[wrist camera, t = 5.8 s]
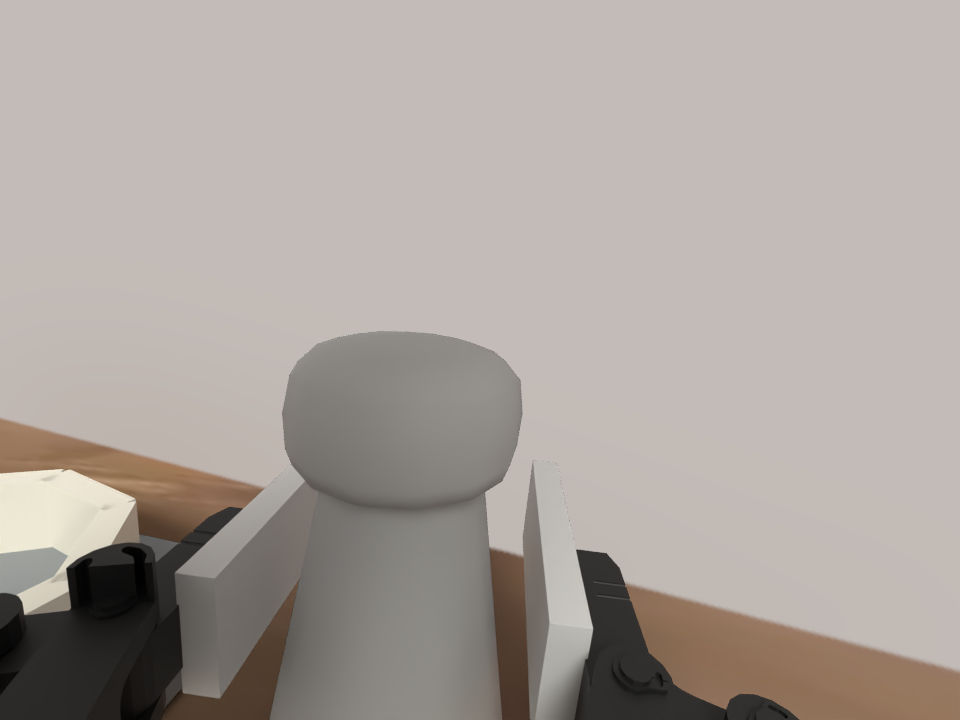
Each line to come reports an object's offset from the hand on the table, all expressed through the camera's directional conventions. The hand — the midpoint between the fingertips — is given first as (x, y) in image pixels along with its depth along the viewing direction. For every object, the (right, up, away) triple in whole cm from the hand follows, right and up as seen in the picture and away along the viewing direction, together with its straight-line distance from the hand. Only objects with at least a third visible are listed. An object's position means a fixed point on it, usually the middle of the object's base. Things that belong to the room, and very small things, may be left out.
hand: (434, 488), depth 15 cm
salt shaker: (-1, -8, -3) cm, 9 cm away
